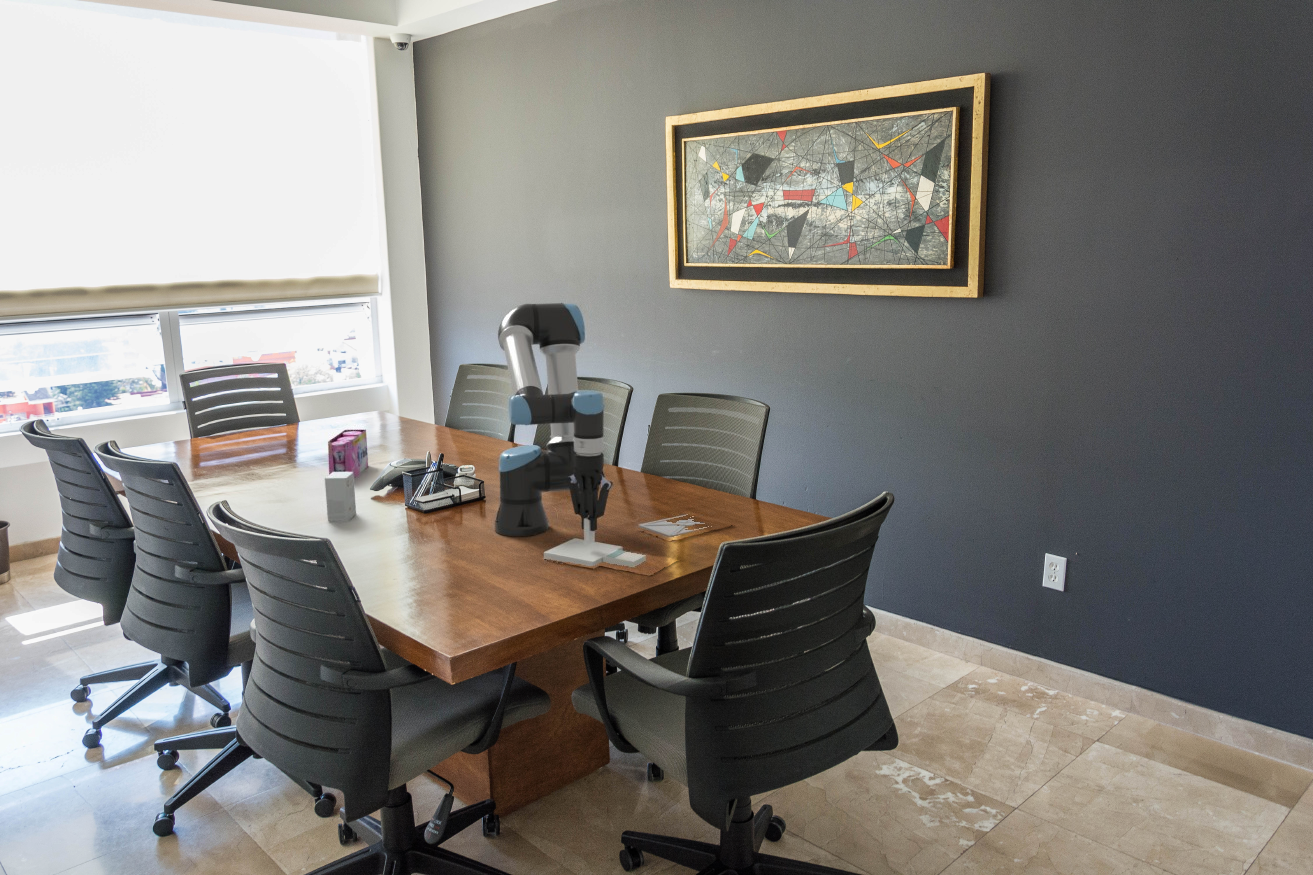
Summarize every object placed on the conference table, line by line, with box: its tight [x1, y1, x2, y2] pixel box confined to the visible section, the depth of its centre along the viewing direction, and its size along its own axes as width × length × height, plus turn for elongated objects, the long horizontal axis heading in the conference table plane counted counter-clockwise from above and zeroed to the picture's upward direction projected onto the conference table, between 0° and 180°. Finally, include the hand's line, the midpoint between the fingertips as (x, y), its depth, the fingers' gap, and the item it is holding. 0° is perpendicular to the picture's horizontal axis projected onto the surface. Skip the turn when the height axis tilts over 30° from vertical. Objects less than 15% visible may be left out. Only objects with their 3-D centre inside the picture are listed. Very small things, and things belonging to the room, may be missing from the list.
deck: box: [543, 537, 624, 566], centre depth 249 cm, size 14×15×2 cm
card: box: [603, 550, 646, 567], centre depth 243 cm, size 6×9×2 cm, turn 60°
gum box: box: [327, 429, 369, 479], centre depth 338 cm, size 24×8×14 cm, turn 2°
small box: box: [324, 472, 357, 522], centre depth 283 cm, size 8×6×13 cm
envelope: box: [637, 513, 712, 537], centre depth 275 cm, size 24×2×14 cm
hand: (589, 541), depth 248 cm, fingers closed
